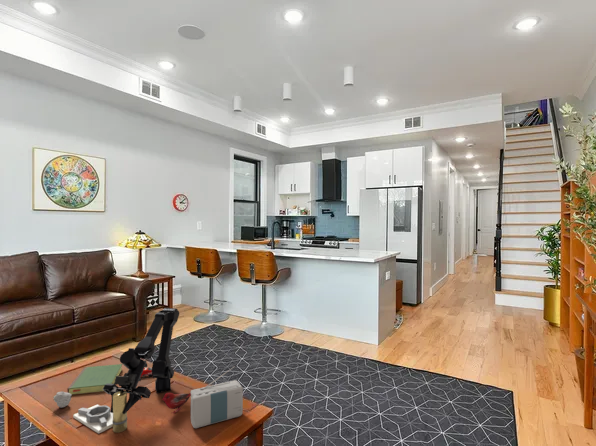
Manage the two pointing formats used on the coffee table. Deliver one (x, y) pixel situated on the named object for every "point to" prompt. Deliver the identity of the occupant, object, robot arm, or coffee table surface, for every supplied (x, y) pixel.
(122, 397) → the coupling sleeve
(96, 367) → the hardcover book
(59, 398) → the grey rounded lump
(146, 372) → the race car
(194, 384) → the coffee table surface
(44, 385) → the coffee table surface
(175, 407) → the decorative bird figurine
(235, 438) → the coffee table surface
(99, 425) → the coupling stand
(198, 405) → the stereo radio cassette player
